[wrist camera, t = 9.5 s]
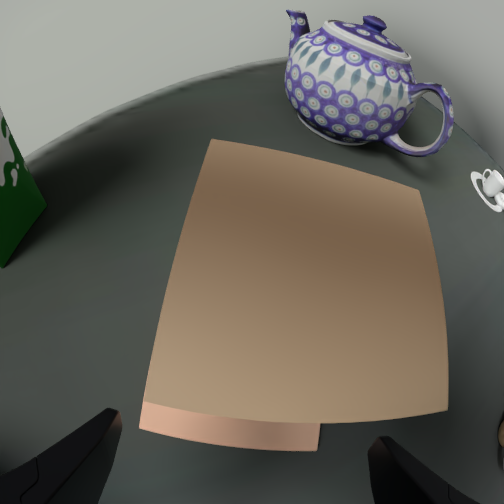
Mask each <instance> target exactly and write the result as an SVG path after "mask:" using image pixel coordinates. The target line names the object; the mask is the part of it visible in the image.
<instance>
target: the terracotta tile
mask: <svg viewBox="0 0 504 504" xmlns="http://www.w3.org/2000/svg"><path fill="white" fill-rule="evenodd" d="M150 363H151V362H150ZM149 369H150V367H149ZM148 374H149V373H148ZM147 380H148V378H147ZM146 385H147V383H146ZM145 391H146V389H145ZM144 397H145V394H144ZM139 428H141V429H144V430H148V431H152V432H156V433H160V434H164V435H168V436H172V437H177V438H182V439H187V440H192V441H197V442H203V443H209V444H216V445H223V446H231V447H239V448H250V449H262V450H280V451H317V446H318V439H319V431H320V423H286V422H269V421H256V420H246V419H237V418H229V417H221V416H214V415H208V414H202V413H196V412H190V411H185V410H180V409H175V408H170V407H166V406H161V405H157V404H153V403H149V402H145V401H144V400H143V406H142V412H141V418H140V425H139Z"/></svg>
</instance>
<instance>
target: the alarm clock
mask: <svg viewBox="0 0 504 504" xmlns="http://www.w3.org/2000/svg"><path fill="white" fill-rule="evenodd" d="M498 439H499V443H500V444H501V446H502V447H503V448H504V420H503V422H502V423H501V425H500V428H499V431H498ZM503 468H504V460H503Z"/></svg>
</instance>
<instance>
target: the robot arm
mask: <svg viewBox="0 0 504 504" xmlns="http://www.w3.org/2000/svg"><path fill="white" fill-rule="evenodd" d="M121 432H122V421H121V415H120V412H119V411H118V410H115V409H112V408H106V409H105V410H104V411H102V412H101V413H99V414H98V415H96V416H95V417H94V418H92V419H91V420H89V421H88V422H87V423H85V424H84V425H82V426H81V427H79V428H78V429H76V430H75V431H74V432H72V433H71V434H69V435H68V436H66V437H65V438H63V439H62V440H60V441H59V442H57V443H56V444H54V445H53V446H51V447H50V448H48V449H47V450H45V451H44V452H42V453H41V454H39V455H38V456H37V457H34V458H33V459H31V460H30V461H28V462H26V463H25V464H23V465H21V466H20V467H18V468H16V469H14V470H12V471H9V472H7V473H5V474H3V475H0V504H98V501H99V499H100V496H101V494H102V491H103V489H104V486H105V483H106V481H107V478H108V476H109V474H110V471H111V468H112V466H113V462H114V458H115V454H116V450H117V446H118V443H119V439H120V435H121ZM368 462H369V471H370V481H371V488H372V493H373V497H374V502H375V504H480V503H478V502H476V501H474V500H472V499H471V498H469V497H467V496H466V495H464V494H462V493H461V492H459V491H458V490H457V489H455V488H454V487H452V486H451V485H450V484H448V483H447V482H446V481H444V480H443V479H442V478H440V477H439V476H438V475H437V474H435V473H434V472H433V471H431V470H430V469H429V468H428V467H426V466H425V465H424V464H422V463H421V462H420V461H419V460H417V459H416V458H415V457H414V456H412V455H411V454H410V453H409V452H408V451H406V450H405V449H404V448H403V447H401V446H400V445H399V444H398V443H397V442H395V441H394V440H393V439H392V438H391V437H389V436H381V437H378V438H377V439H376V440H375V442H374V443H373V444H372V446H371V447H370V448H369V450H368Z"/></svg>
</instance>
